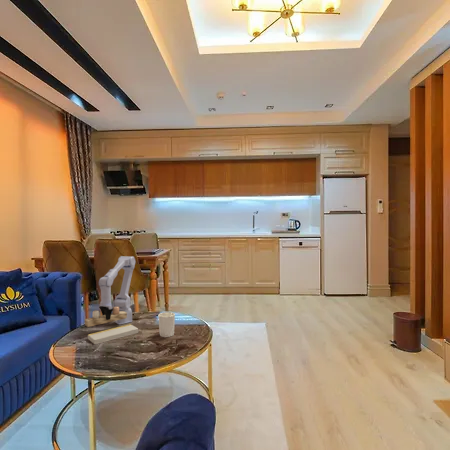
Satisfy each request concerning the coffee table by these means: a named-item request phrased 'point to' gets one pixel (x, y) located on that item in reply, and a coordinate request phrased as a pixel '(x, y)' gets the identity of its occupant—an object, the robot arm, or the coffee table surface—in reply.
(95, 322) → the beige long bar
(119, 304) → the robot arm
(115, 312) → the cylinder
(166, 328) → the candle holder
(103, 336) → the dock
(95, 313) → the taupe tapered cylinder
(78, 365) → the coffee table surface
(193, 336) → the coffee table surface
